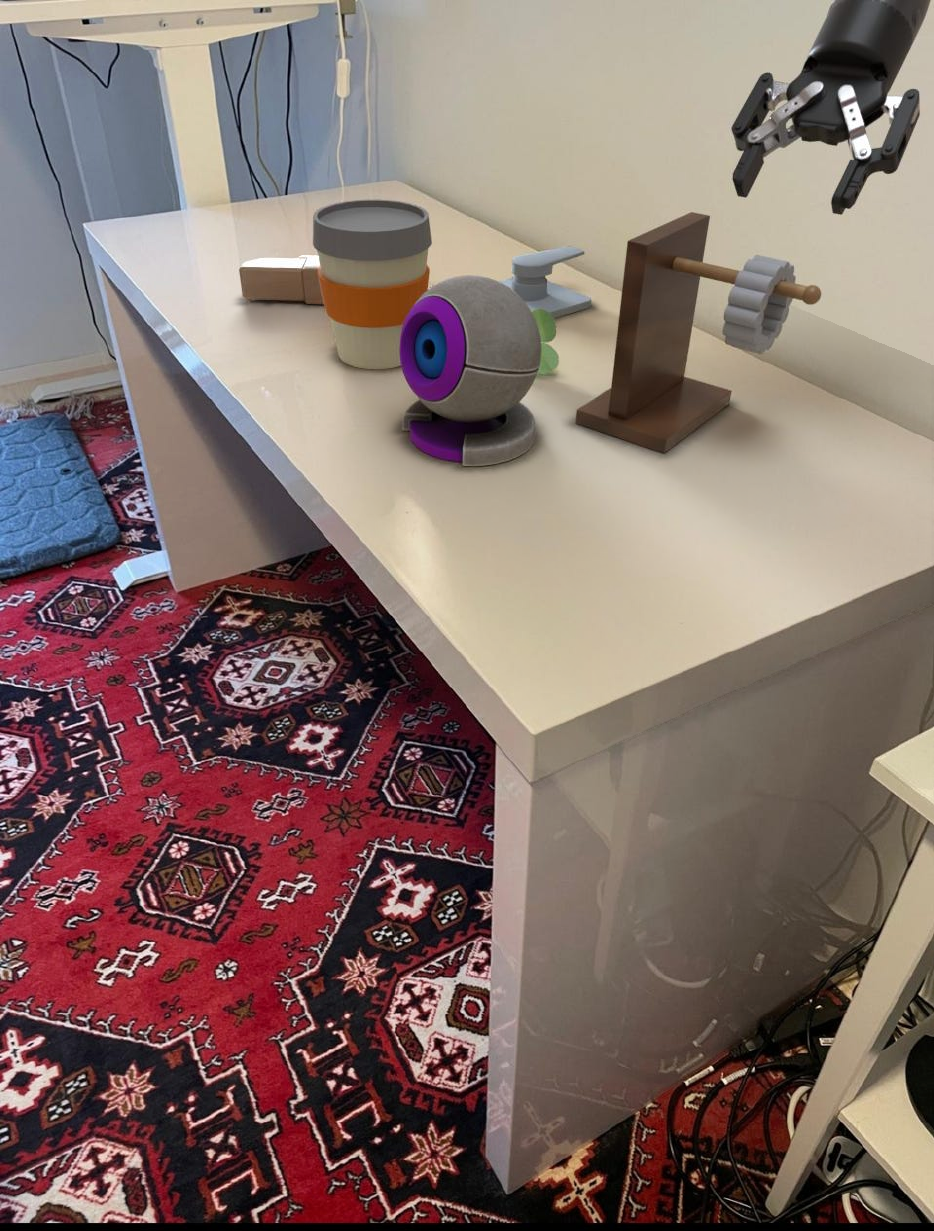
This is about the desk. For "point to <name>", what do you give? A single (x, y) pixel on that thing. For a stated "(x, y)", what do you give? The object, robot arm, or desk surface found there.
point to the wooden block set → (282, 279)
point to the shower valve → (545, 282)
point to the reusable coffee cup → (371, 274)
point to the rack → (664, 339)
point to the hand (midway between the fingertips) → (786, 199)
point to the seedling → (546, 340)
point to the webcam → (470, 371)
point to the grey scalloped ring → (757, 304)
